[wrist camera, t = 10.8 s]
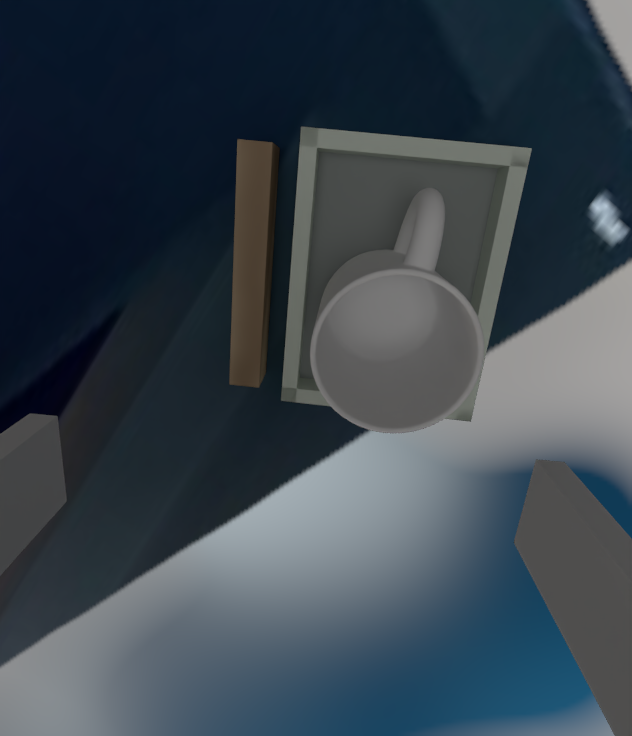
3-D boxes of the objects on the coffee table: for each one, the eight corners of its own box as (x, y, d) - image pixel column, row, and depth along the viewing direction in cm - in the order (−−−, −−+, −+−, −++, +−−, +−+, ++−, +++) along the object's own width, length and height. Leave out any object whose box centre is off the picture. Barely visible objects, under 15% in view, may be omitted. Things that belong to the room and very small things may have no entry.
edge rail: (238, 369, 35) (229, 384, 32) (247, 144, 30) (237, 139, 27) (265, 372, 35) (258, 387, 32) (279, 147, 30) (272, 142, 27)
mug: (356, 172, 30) (360, 158, 20) (482, 208, 30) (548, 213, 20) (307, 349, 34) (291, 409, 24) (419, 380, 34) (448, 452, 24)
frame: (285, 387, 35) (281, 400, 33) (304, 132, 29) (301, 126, 27) (462, 406, 35) (470, 421, 32) (516, 152, 29) (531, 148, 27)
